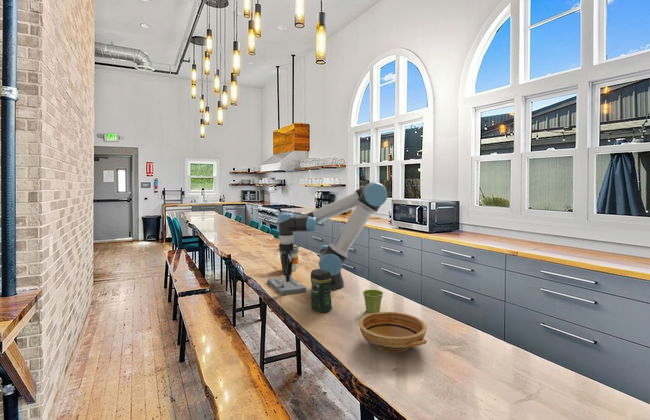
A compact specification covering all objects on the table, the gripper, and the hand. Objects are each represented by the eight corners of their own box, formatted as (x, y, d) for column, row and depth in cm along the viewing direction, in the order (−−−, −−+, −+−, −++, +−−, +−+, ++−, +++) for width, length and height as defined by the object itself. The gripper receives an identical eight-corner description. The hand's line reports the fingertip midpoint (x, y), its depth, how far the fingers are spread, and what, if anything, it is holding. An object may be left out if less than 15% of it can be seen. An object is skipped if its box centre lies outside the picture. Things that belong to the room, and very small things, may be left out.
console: (306, 291, 193) (306, 287, 193) (281, 295, 187) (281, 291, 187) (289, 279, 217) (289, 275, 217) (267, 282, 211) (267, 278, 211)
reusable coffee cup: (298, 272, 232) (297, 249, 231) (278, 272, 232) (278, 249, 231) (299, 267, 244) (299, 246, 243) (281, 268, 245) (280, 246, 243)
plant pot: (385, 309, 166) (385, 290, 165) (380, 316, 157) (380, 297, 156) (366, 306, 170) (366, 288, 169) (359, 313, 161) (359, 294, 160)
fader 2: (291, 279, 208) (291, 274, 207) (286, 280, 206) (286, 274, 206) (290, 278, 209) (290, 273, 209) (285, 279, 208) (285, 273, 208)
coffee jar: (334, 310, 165) (334, 270, 164) (321, 314, 160) (321, 273, 158) (321, 304, 173) (320, 266, 171) (308, 308, 167) (307, 269, 166)
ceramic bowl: (341, 338, 136) (341, 317, 136) (389, 323, 149) (389, 305, 148) (395, 373, 111) (395, 348, 111) (447, 352, 124) (448, 330, 123)
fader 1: (286, 285, 196) (285, 279, 195) (280, 286, 194) (280, 280, 194) (284, 284, 197) (284, 278, 197) (279, 285, 196) (279, 279, 196)
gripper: (275, 241, 192) (276, 284, 194) (283, 245, 180) (284, 291, 182) (288, 240, 195) (289, 283, 197) (297, 244, 183) (298, 289, 185)
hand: (287, 287), depth 190 cm, fingers closed
